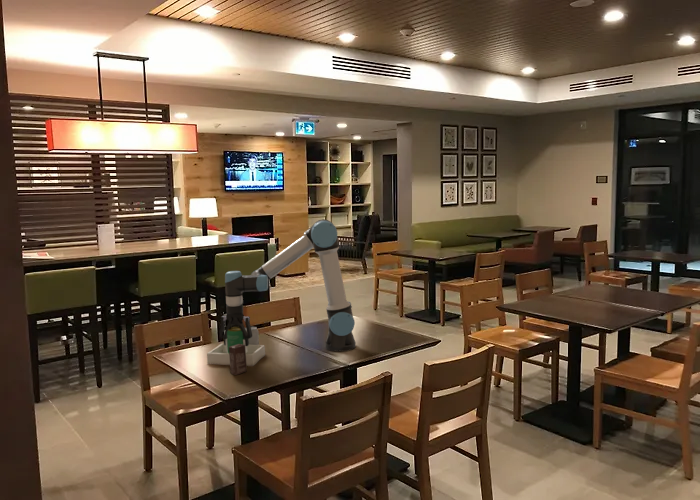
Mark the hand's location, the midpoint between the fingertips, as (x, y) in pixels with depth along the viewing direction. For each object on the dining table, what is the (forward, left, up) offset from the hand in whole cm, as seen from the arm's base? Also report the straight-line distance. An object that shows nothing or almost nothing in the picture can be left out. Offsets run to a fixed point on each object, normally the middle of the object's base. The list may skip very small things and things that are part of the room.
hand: (236, 352), depth 263 cm
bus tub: (0, 0, -4) cm, 4 cm away
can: (-2, -13, -4) cm, 13 cm away
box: (-8, +17, -4) cm, 19 cm away
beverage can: (0, 0, -1) cm, 1 cm away
